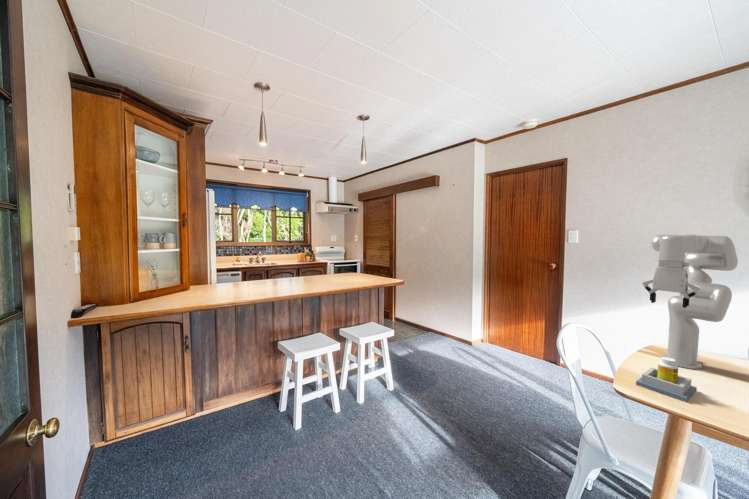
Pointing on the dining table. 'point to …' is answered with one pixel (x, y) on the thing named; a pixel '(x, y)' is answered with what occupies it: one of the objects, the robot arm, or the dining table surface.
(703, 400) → the dining table surface
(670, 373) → the supplement bottle
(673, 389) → the tray
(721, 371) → the dining table surface
